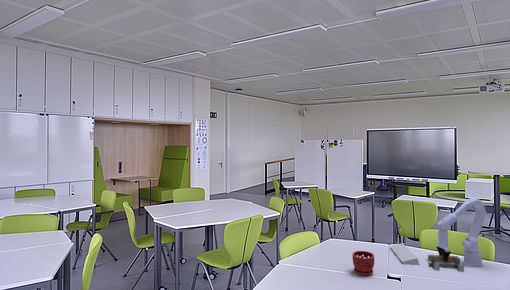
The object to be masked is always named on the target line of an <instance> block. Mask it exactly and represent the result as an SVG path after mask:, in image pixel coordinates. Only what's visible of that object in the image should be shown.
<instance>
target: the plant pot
mask: <svg viewBox="0 0 510 290" xmlns="http://www.w3.org/2000/svg"><path fill="white" fill-rule="evenodd" d="M351 256H352V264H353V271H354V273H356V274H357V275H360V276H366V277H367V276H371V275H373V273H374V270H373V268H374V266H375V254H373V252H369V251H366V250H365V251H364V250H356V251H353V252H352V255H351Z"/></svg>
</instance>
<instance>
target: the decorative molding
mask: <svg viewBox="0 0 510 290" xmlns="http://www.w3.org/2000/svg"><path fill="white" fill-rule="evenodd" d="M389 247H390V249H391V250H392V252H393V253H394V254H395V256H396V257H397V258H398V259H399V261H400V262H401V263H402V264H403V265H414V266H415V265H417V266H419V265H420V262H419V259H418V257H417V256H416V255H415V254H414V252H412V251H411V250H410V249H409V248H408V247H407V246H406V245H405V244H404V243H403V242H402V243H397V244H394V245H389Z"/></svg>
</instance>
